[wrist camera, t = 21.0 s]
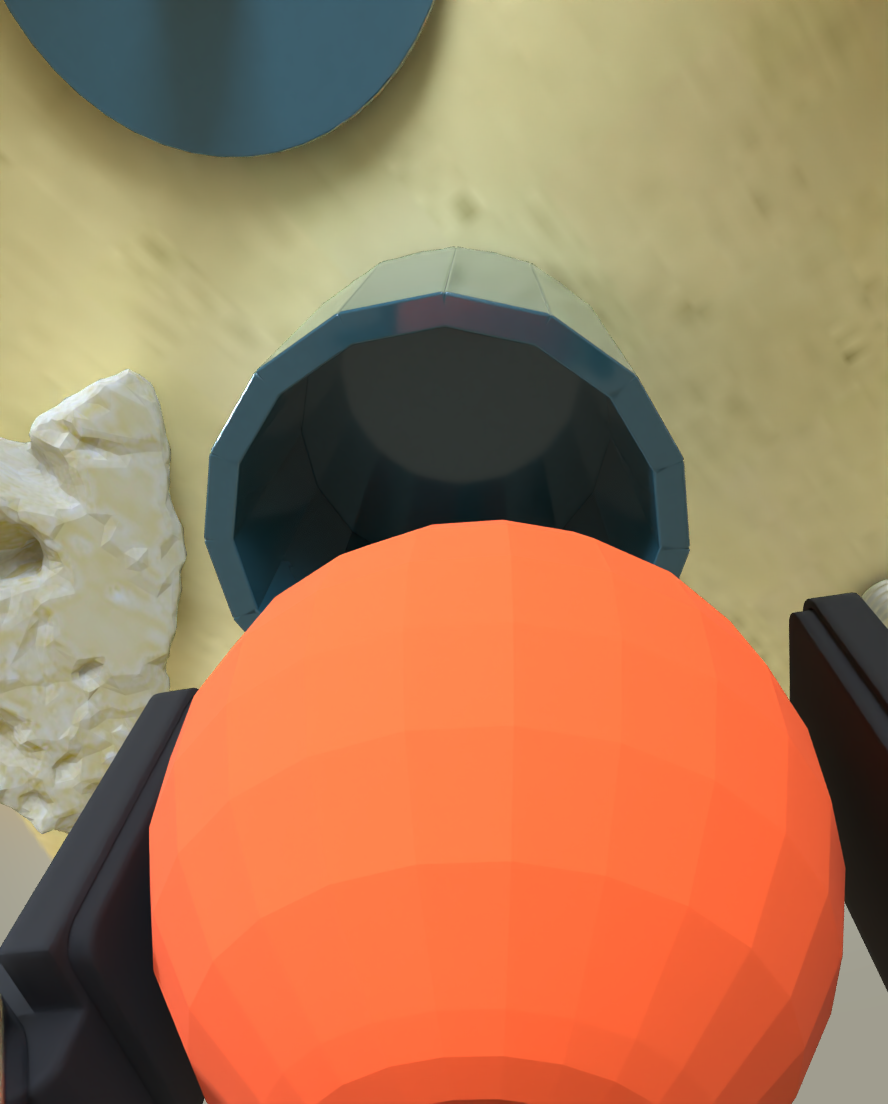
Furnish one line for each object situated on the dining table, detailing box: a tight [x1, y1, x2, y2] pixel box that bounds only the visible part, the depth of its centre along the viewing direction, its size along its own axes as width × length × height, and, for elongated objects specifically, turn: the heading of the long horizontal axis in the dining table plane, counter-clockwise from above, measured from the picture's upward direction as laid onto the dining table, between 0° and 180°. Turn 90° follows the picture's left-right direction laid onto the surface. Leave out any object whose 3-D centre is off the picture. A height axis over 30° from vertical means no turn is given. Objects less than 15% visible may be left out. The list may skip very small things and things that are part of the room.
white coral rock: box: [0, 369, 187, 834], centre depth 30 cm, size 15×7×15 cm
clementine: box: [149, 520, 845, 1104], centre depth 9 cm, size 8×7×7 cm
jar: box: [204, 247, 690, 632], centre depth 25 cm, size 13×13×10 cm
